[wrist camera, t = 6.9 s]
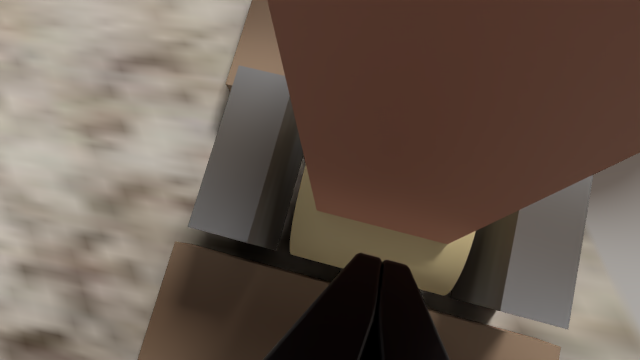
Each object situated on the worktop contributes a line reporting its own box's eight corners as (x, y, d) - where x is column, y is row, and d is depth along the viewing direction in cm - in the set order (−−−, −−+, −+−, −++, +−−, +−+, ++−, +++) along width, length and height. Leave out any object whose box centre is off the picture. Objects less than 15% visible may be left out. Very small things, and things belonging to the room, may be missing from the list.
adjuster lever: (428, 295, 13) (1739, 279, 1) (297, 260, 14) (-98, -104, 1) (454, 169, 14) (1277, -730, 2) (331, 139, 15) (294, -773, 2)
